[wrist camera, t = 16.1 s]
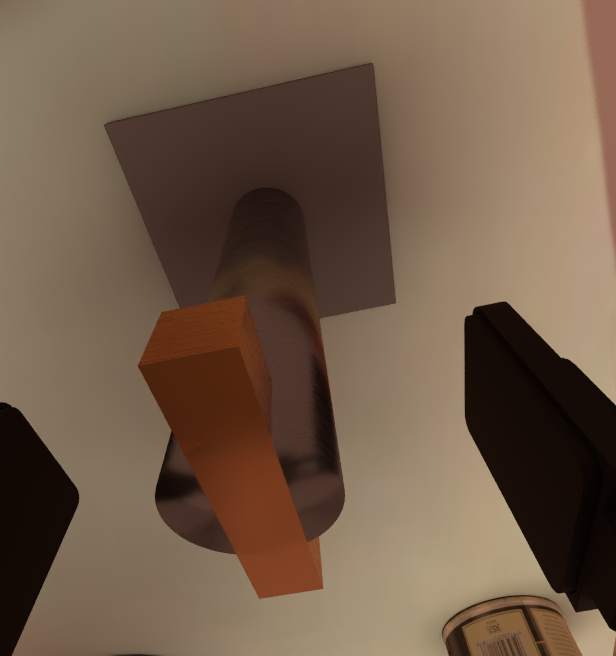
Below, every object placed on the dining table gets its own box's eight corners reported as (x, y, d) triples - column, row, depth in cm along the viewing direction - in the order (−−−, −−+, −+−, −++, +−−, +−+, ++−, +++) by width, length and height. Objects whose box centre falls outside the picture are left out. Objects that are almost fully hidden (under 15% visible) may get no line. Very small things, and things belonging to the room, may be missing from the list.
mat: (393, 298, 19) (395, 303, 19) (195, 337, 20) (194, 342, 19) (371, 63, 14) (373, 63, 14) (107, 123, 15) (103, 125, 14)
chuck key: (288, 139, 15) (308, 333, 5) (317, 282, 18) (366, 581, 8) (209, 156, 15) (72, 377, 5) (251, 295, 18) (217, 605, 8)
